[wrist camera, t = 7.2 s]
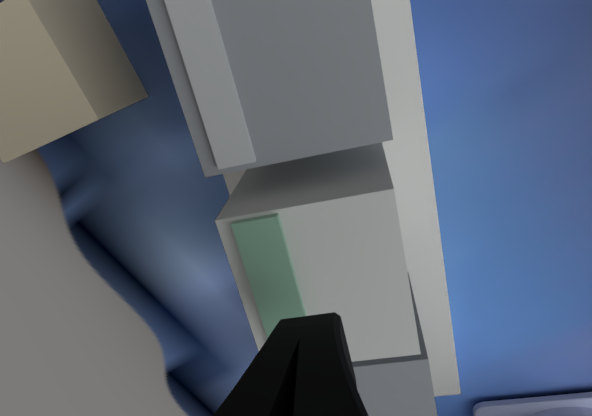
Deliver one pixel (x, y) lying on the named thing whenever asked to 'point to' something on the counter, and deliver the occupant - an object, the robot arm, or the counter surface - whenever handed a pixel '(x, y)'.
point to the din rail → (323, 135)
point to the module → (323, 249)
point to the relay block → (58, 72)
